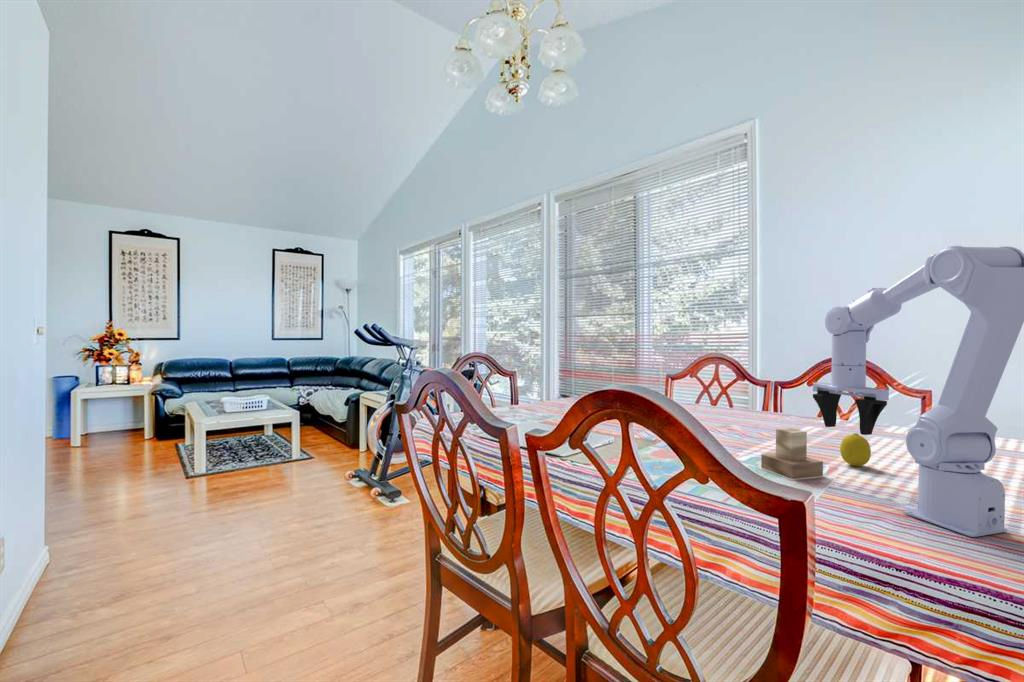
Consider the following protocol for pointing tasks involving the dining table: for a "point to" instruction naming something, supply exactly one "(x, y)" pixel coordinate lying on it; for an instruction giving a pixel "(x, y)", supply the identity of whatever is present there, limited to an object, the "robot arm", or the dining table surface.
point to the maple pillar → (791, 444)
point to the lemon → (855, 450)
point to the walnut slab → (792, 466)
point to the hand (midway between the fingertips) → (847, 430)
